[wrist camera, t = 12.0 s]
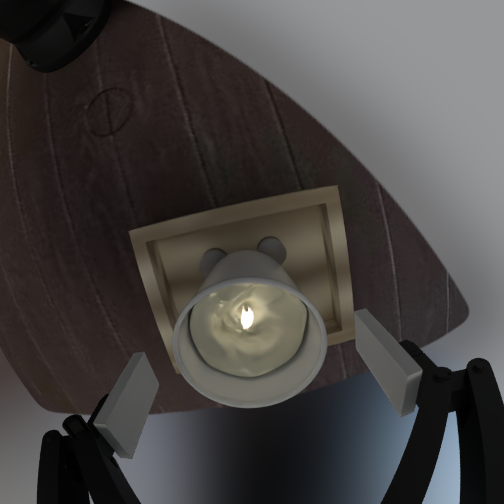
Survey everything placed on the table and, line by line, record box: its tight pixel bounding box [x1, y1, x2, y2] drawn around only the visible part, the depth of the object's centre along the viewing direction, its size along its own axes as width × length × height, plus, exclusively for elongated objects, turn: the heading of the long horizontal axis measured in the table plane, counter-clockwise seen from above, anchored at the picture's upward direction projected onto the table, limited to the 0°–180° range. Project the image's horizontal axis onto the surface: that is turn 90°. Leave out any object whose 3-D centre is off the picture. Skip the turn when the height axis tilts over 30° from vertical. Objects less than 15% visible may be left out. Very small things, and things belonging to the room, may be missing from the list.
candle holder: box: [172, 250, 327, 408], centre depth 22 cm, size 10×10×12 cm
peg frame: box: [129, 185, 355, 373], centre depth 29 cm, size 17×21×4 cm
